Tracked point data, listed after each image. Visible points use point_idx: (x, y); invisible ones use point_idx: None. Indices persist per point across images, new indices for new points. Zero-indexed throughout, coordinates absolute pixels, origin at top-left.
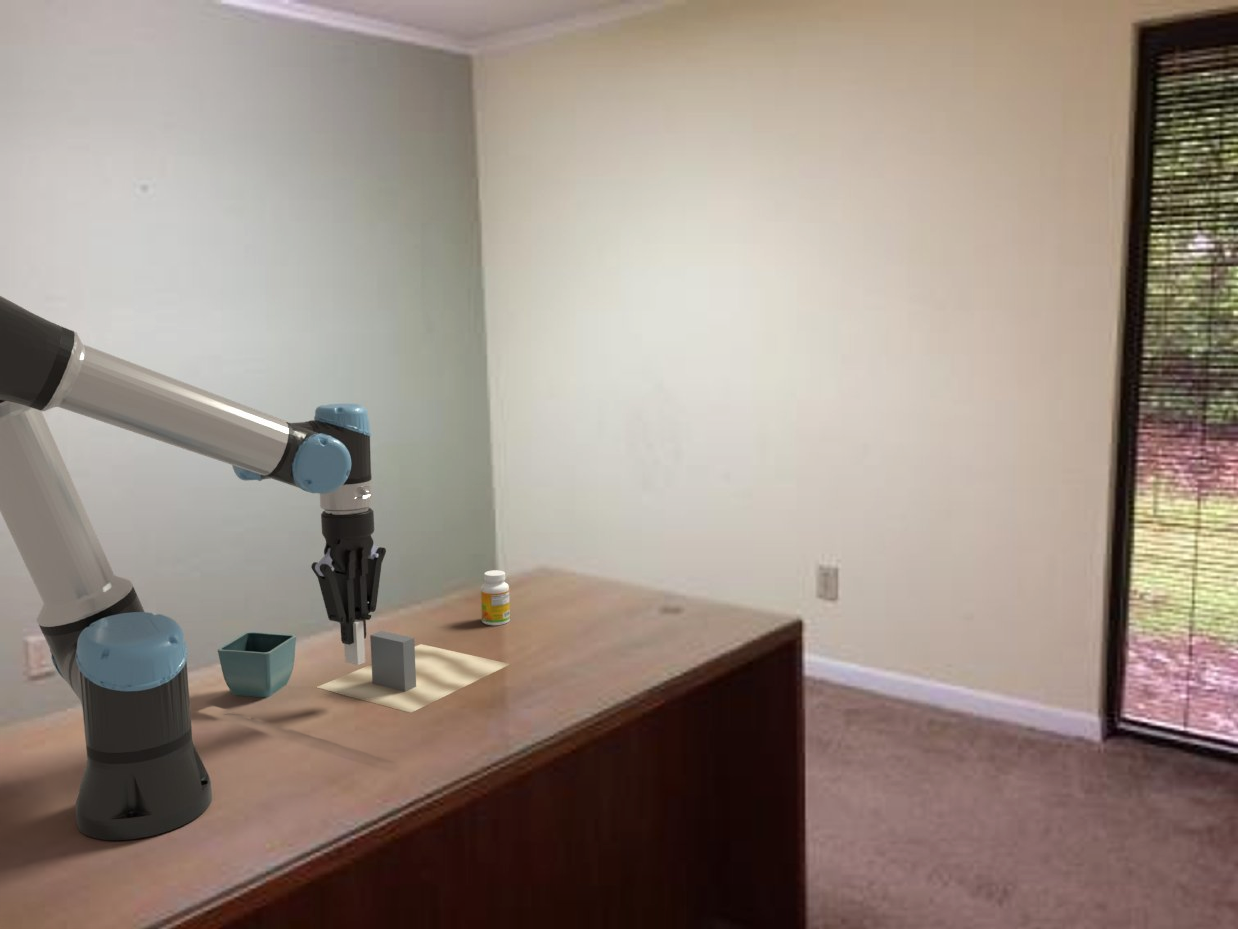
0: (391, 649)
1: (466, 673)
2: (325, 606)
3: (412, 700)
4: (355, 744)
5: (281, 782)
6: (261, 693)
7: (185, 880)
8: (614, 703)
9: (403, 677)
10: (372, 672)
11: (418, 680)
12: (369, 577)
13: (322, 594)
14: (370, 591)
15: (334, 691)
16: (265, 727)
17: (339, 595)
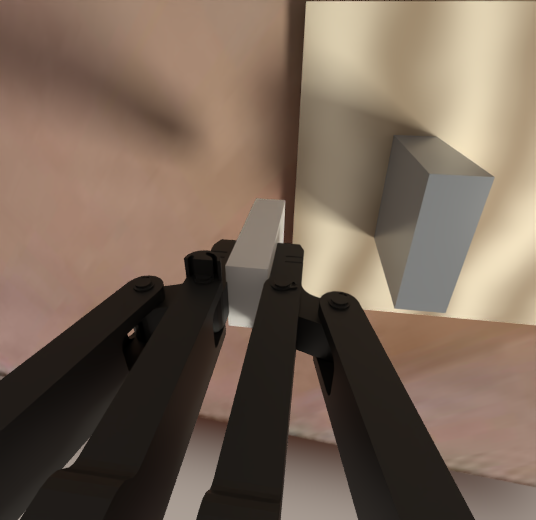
0: (398, 251)
1: (522, 286)
2: (79, 321)
3: (338, 275)
4: (175, 274)
5: (37, 265)
6: None
7: None
8: (466, 469)
9: (379, 250)
10: (399, 143)
11: None
12: (362, 495)
13: (10, 375)
14: (335, 419)
15: (305, 83)
16: (106, 68)
17: (83, 437)
